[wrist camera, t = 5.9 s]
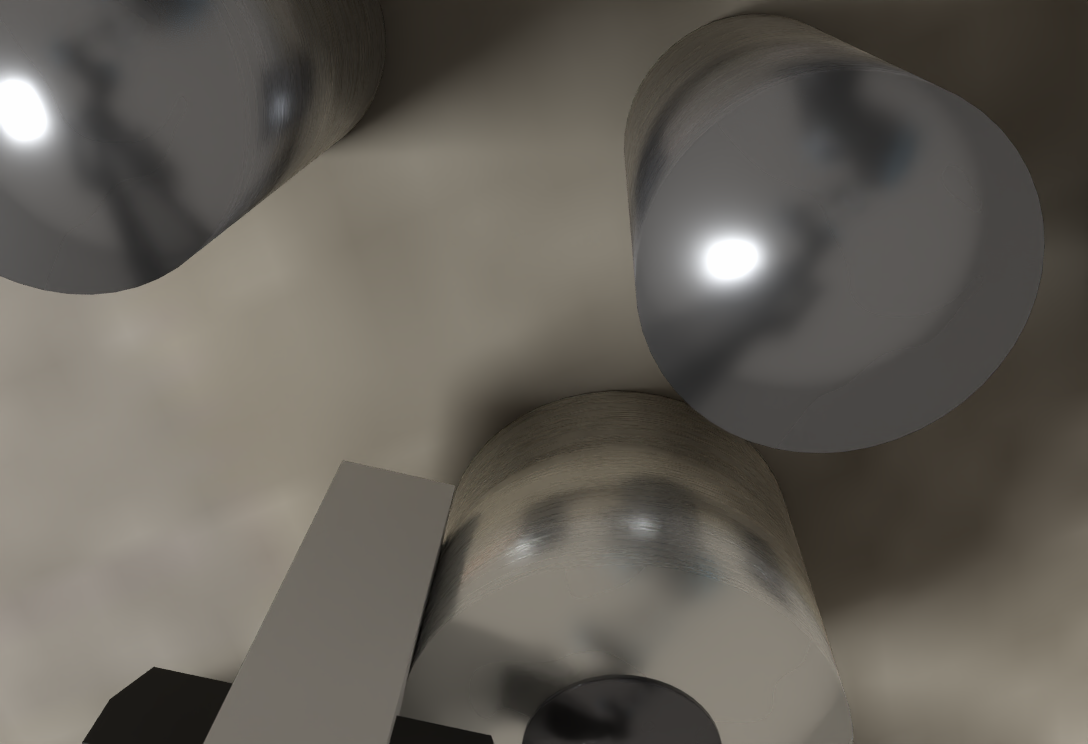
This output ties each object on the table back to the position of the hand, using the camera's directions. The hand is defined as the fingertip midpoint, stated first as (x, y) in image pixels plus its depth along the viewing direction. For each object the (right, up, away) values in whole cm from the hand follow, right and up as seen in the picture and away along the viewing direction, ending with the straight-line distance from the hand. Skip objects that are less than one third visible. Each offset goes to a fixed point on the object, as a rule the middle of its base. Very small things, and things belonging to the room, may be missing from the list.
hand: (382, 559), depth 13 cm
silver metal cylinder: (+3, 0, +1) cm, 3 cm away
